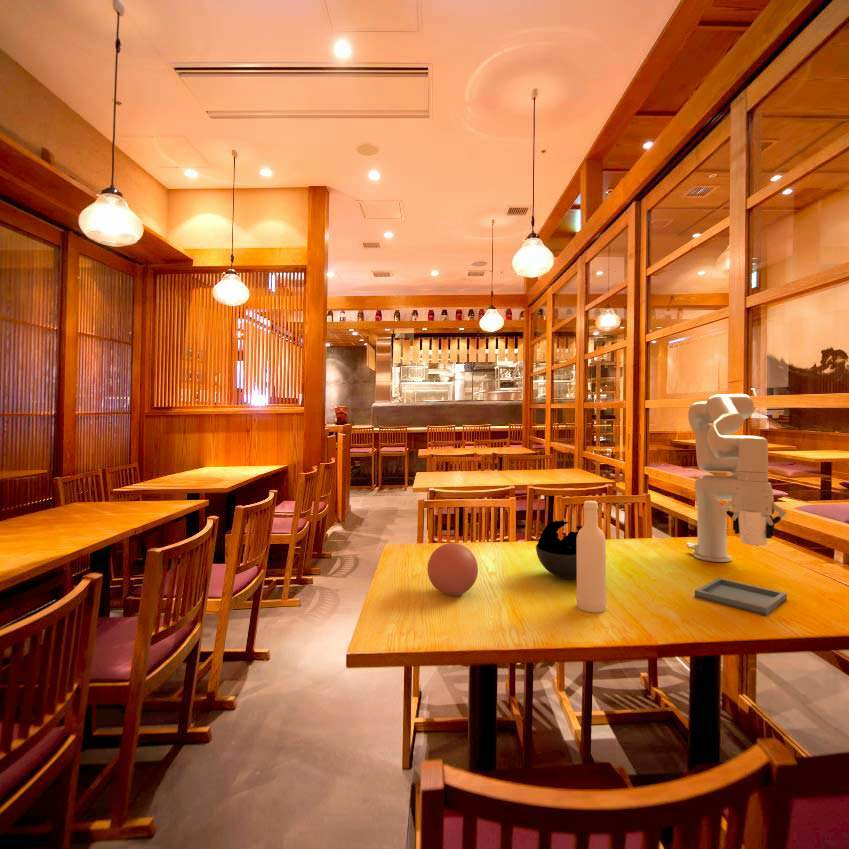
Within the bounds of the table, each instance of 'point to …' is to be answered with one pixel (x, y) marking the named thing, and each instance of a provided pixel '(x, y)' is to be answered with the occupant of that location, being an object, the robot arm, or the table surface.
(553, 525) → the bowl of black rocks
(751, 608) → the serving tray
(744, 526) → the white cup
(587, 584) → the bottle
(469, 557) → the brown rubber ball
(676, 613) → the table surface
